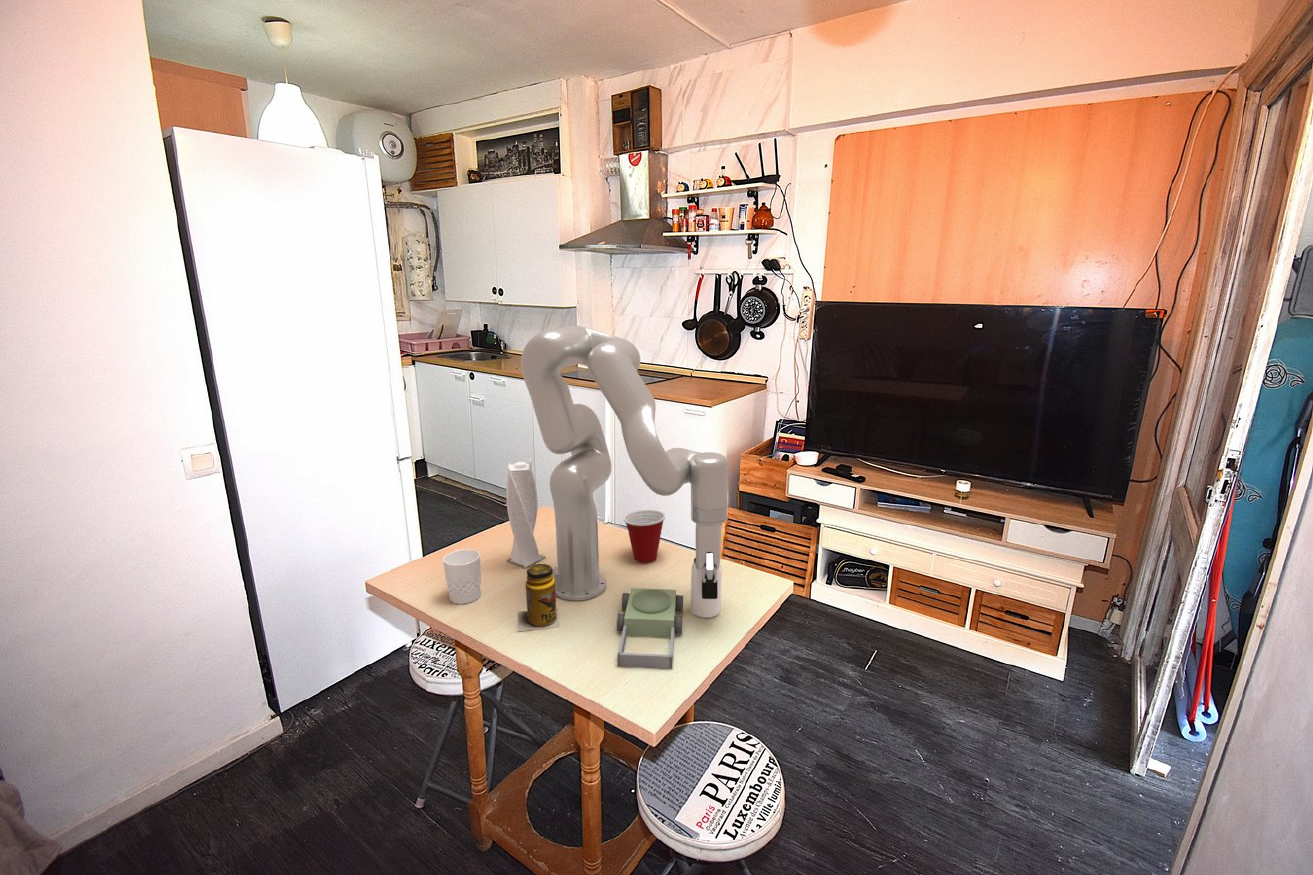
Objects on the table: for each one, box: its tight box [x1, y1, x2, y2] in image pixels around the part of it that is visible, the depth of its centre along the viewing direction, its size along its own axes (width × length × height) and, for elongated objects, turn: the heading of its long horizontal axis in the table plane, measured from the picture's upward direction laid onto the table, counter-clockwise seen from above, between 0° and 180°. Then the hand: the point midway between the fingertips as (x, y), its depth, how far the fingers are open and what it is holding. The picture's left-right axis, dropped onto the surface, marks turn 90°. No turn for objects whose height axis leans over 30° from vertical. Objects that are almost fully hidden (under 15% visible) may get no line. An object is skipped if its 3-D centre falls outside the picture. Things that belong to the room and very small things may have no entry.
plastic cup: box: [623, 509, 666, 564], centre depth 148 cm, size 11×11×12 cm
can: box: [690, 557, 723, 619], centre depth 124 cm, size 6×6×12 cm
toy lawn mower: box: [616, 587, 684, 670], centre depth 117 cm, size 13×22×5 cm, turn 176°
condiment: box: [517, 563, 560, 632], centre depth 121 cm, size 7×8×12 cm
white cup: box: [442, 548, 482, 605], centre depth 130 cm, size 8×8×10 cm
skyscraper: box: [506, 457, 547, 570], centre depth 144 cm, size 8×8×28 cm
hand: (709, 586), depth 124 cm, fingers open, 9 cm apart
